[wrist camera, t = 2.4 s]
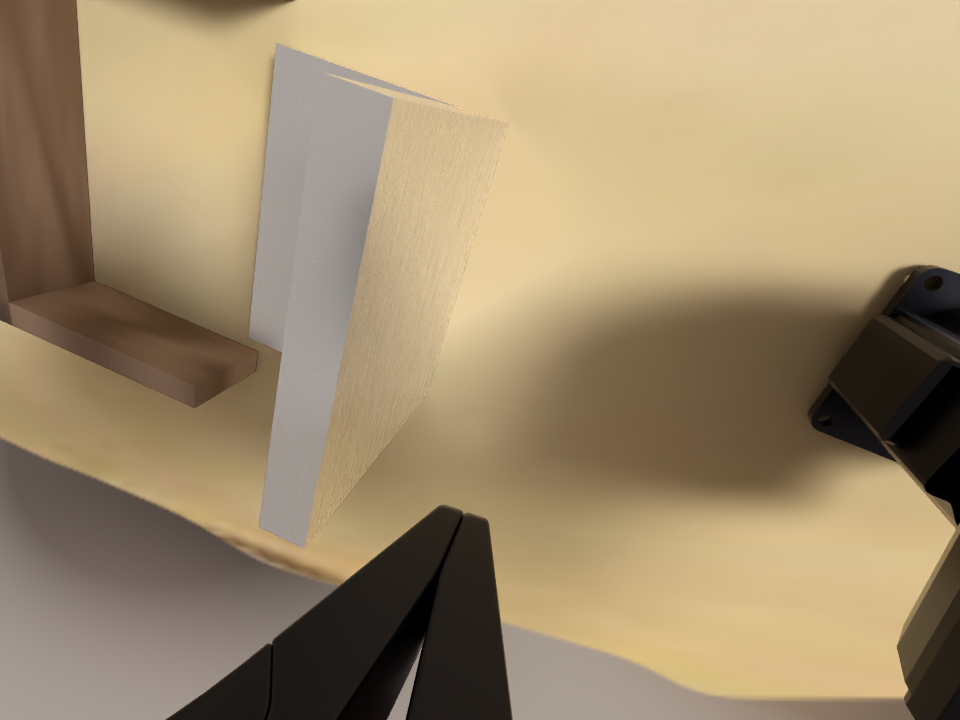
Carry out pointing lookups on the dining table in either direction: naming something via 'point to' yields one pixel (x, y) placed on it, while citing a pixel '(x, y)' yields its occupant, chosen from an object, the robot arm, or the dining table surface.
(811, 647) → the dining table surface
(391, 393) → the bracket
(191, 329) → the bay
